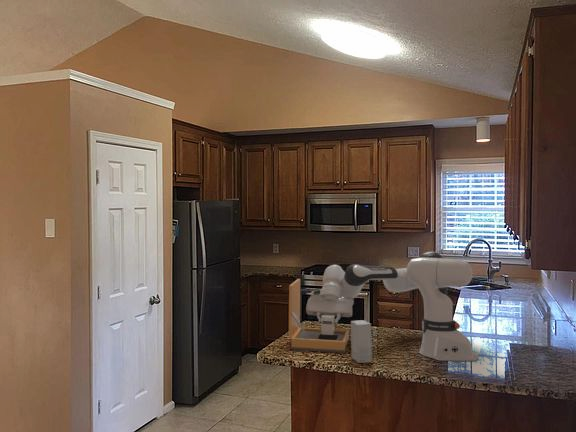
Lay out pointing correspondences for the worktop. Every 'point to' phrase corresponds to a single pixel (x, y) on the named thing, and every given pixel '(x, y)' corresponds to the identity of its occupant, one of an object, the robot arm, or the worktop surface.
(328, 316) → the plate
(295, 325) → the equipment case
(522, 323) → the worktop surface
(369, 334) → the skincare box
